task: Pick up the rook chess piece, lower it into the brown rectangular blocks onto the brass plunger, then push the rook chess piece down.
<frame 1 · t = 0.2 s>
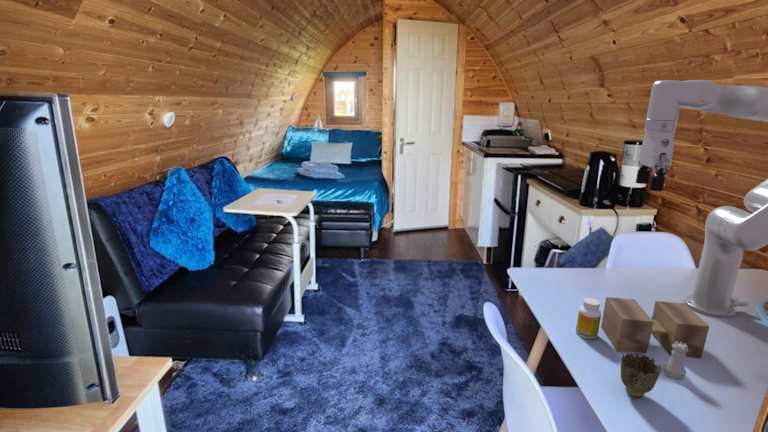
hand: (648, 186, 129), 37 cm above the table, tool pointing down, fingers open, 9 cm apart
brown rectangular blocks: (648, 341, 117), on the table
cup: (634, 394, 97), on the table
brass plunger: (651, 326, 116), point 4 cm above the table, slide at 0.0 cm
supplement bottle: (586, 334, 120), on the table
rook chess piece: (673, 375, 104), on the table
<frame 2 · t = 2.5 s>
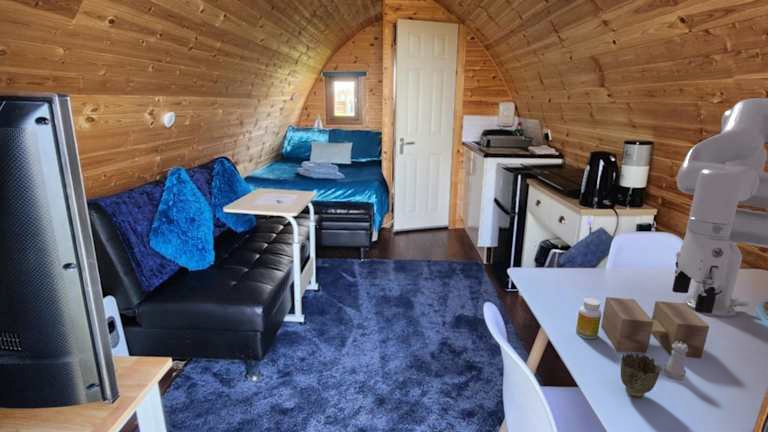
hand: (690, 301, 99), 19 cm above the table, tool pointing down, fingers open, 9 cm apart
nothing on the table moved.
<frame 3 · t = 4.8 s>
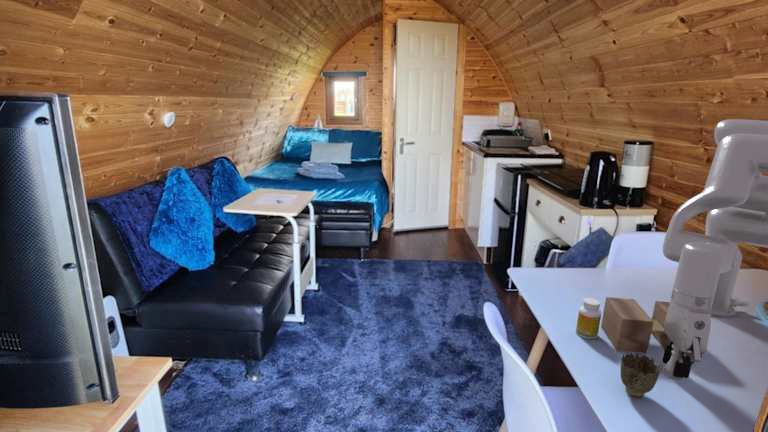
hand: (674, 369, 104), 1 cm above the table, tool pointing down, fingers closed on rook chess piece, 4 cm apart
rook chess piece: (673, 375, 104), on the table, touching gripper
everything else where it was.
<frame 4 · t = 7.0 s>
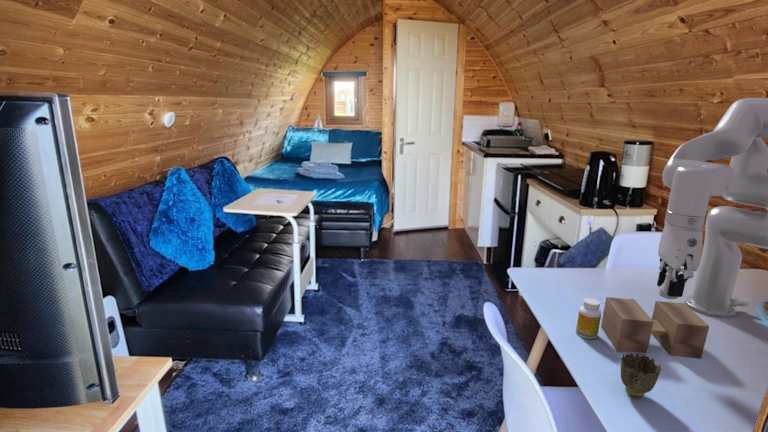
hand: (669, 290, 109), 17 cm above the table, tool pointing down, fingers closed on rook chess piece, 4 cm apart
rook chess piece: (667, 296, 109), point 15 cm above the table, touching gripper
everything else where it was.
when the fingers open (8 cm above the table, at t = 9.4 s): rook chess piece drops 5 cm, resting on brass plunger.
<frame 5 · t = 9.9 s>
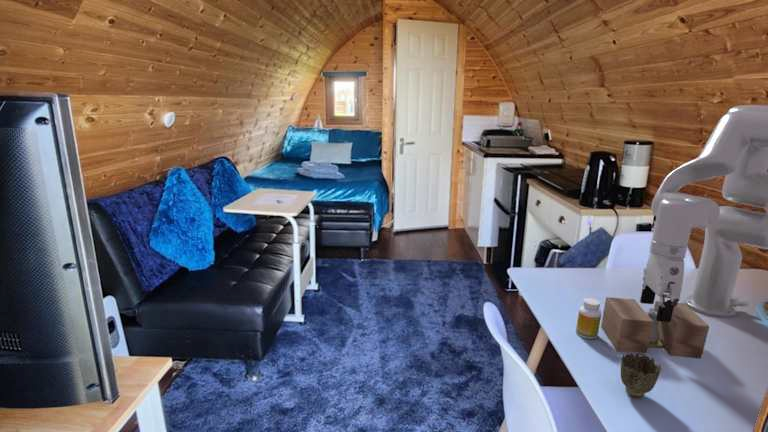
hand: (654, 311, 115), 9 cm above the table, tool pointing down, fingers open, 9 cm apart
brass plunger: (648, 340, 117), point 1 cm above the table, slide at 4.0 cm, touching rook chess piece
rook chess piece: (648, 338, 117), point 1 cm above the table, touching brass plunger
everything else where it was.
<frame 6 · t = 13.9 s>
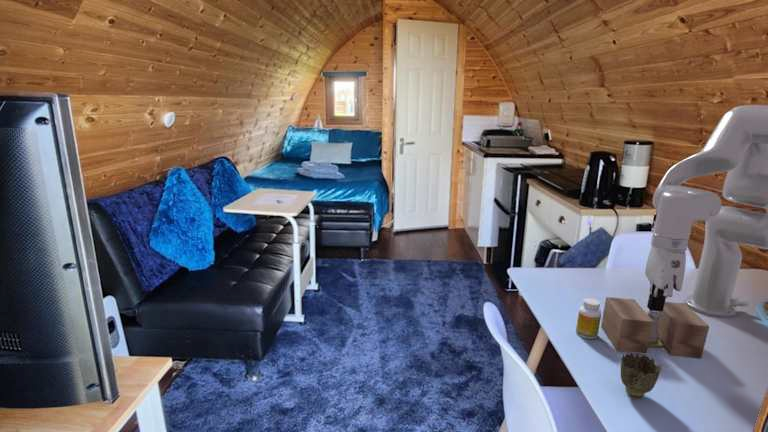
hand: (654, 309, 115), 9 cm above the table, tool pointing down, fingers closed
nothing on the table moved.
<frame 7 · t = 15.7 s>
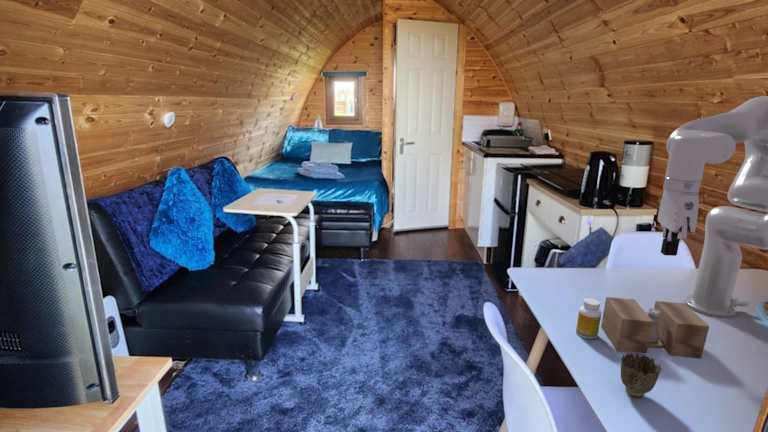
hand: (668, 254, 116), 23 cm above the table, tool pointing down, fingers closed
nothing on the table moved.
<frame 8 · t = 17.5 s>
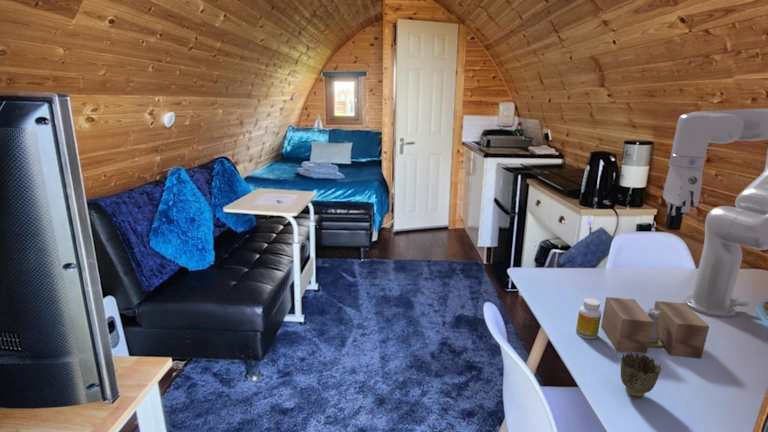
hand: (672, 228, 122), 27 cm above the table, tool pointing down, fingers closed
nothing on the table moved.
at the end: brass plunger slide at 4.0 cm; rook chess piece 0.1 cm off-centre on the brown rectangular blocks, point 0.8 cm above the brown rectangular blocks's base; rook chess piece tilted 0° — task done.
